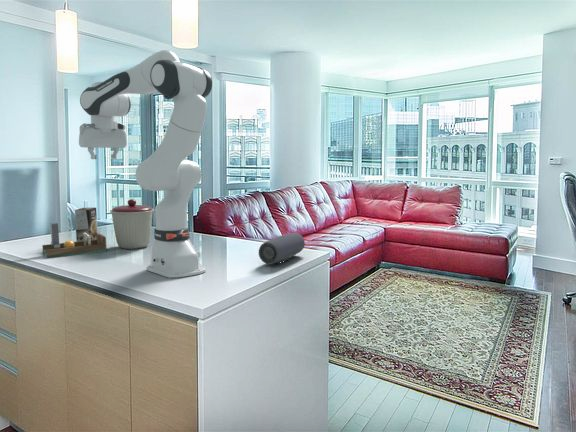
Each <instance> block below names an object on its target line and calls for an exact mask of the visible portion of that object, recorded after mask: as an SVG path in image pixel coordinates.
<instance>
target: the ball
mask: <svg viewBox="0 0 576 432" xmlns="http://www.w3.org/2000/svg"><path fill="white" fill-rule="evenodd" d="M74 242H75V241H73V240H71V239H70V240H69V239H68V240H66V241H64V242H63V243H64V248H69V247H74V246H75V244H74Z"/></svg>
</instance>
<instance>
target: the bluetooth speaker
mask: <svg viewBox="0 0 576 432" xmlns="http://www.w3.org/2000/svg"><path fill="white" fill-rule="evenodd" d="M305 244H306V243H305V239H304V237H303V235H301V234H300V233H299V232H289V233H286V234H282V235H279V236H276V237H273V238H271V239H268V240H267V241H265V242H262V243H261V244H260V247H259V249H258V257H259V259H260V260H261V262H262V263H264V264H266V265H272V264H275V263H280V262H283V261H286V260H288V259H290V258H291V259H292V257H294V256H296V255H297V254H299V253H300V252H302V251H303V250H304V248H305ZM291 259H290V260H291ZM288 261H289V260H288ZM286 262H287V261H286Z"/></svg>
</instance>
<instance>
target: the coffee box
mask: <svg viewBox="0 0 576 432" xmlns="http://www.w3.org/2000/svg"><path fill="white" fill-rule="evenodd" d="M97 212H98V211H97V207H81V208H78V209H75V210H74V217H75V218H74V219H75V220H74V221H75V237H76V241H75V242H78V241H84V238H83V235H84V234H83V233H87V234H88V235H90V236H91V240H96V233H99V232H98V218H97V216H98V215H97ZM87 241H88V237H87Z"/></svg>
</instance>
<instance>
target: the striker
mask: <svg viewBox="0 0 576 432" xmlns="http://www.w3.org/2000/svg"><path fill="white" fill-rule="evenodd" d="M59 232H60V231H59V223H58V222H51V223H50V237H51V238H50V239H51V241H50V244H51V248H52V249H60V244H59V243H60V234H59Z"/></svg>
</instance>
